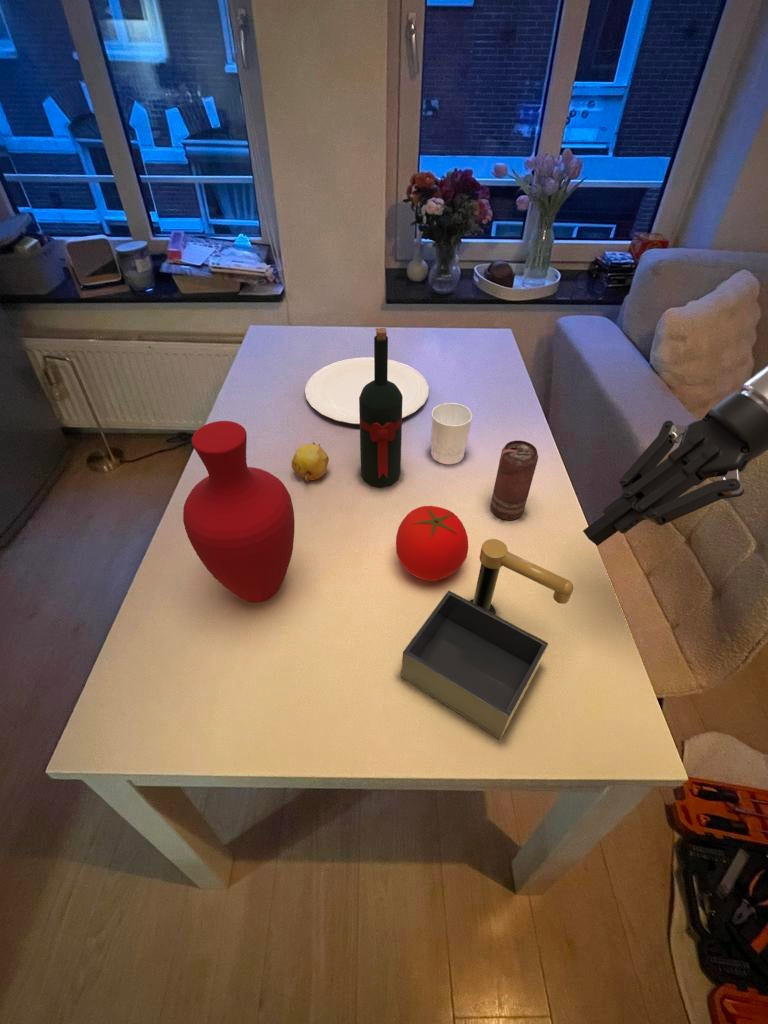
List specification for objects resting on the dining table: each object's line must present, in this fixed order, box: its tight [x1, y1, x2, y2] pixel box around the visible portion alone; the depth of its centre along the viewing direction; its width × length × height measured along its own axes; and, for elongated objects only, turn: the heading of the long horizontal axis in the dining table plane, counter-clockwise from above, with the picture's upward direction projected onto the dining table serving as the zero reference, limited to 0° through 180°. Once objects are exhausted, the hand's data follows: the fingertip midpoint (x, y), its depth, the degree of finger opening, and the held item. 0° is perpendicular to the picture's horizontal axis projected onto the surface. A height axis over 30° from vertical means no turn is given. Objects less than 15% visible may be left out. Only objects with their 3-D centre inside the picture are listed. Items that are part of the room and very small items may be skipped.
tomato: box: [395, 505, 469, 582], centre depth 84 cm, size 12×12×10 cm
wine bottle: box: [359, 327, 403, 489], centre depth 93 cm, size 8×10×30 cm
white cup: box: [430, 402, 473, 465], centre depth 105 cm, size 8×8×10 cm
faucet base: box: [469, 562, 501, 616], centre depth 76 cm, size 5×5×13 cm
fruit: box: [291, 441, 330, 484], centre depth 102 cm, size 7×7×10 cm
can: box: [489, 440, 539, 521], centre depth 92 cm, size 6×6×14 cm
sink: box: [401, 590, 549, 740], centre depth 72 cm, size 12×15×7 cm
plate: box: [304, 356, 430, 425], centre depth 124 cm, size 29×29×2 cm
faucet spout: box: [479, 538, 574, 604], centre depth 69 cm, size 13×3×3 cm, turn 55°
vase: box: [182, 420, 296, 604], centre depth 74 cm, size 15×15×30 cm
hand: (590, 538), depth 69 cm, fingers closed
